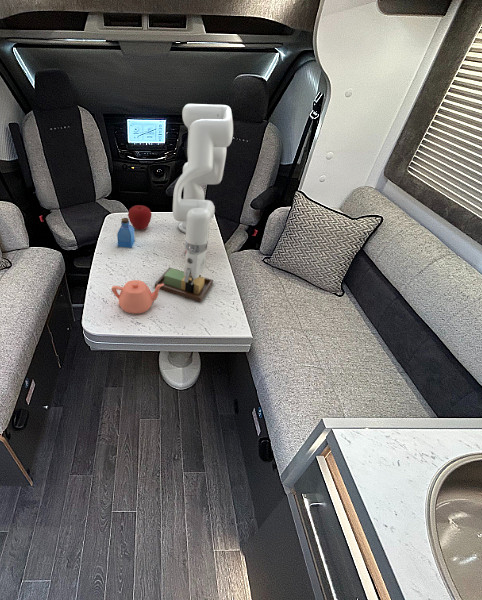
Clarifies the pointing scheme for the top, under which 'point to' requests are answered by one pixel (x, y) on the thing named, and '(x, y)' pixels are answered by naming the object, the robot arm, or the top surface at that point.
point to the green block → (174, 278)
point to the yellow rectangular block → (195, 284)
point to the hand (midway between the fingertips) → (192, 286)
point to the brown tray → (184, 293)
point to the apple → (139, 217)
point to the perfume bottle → (125, 234)
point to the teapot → (136, 296)
